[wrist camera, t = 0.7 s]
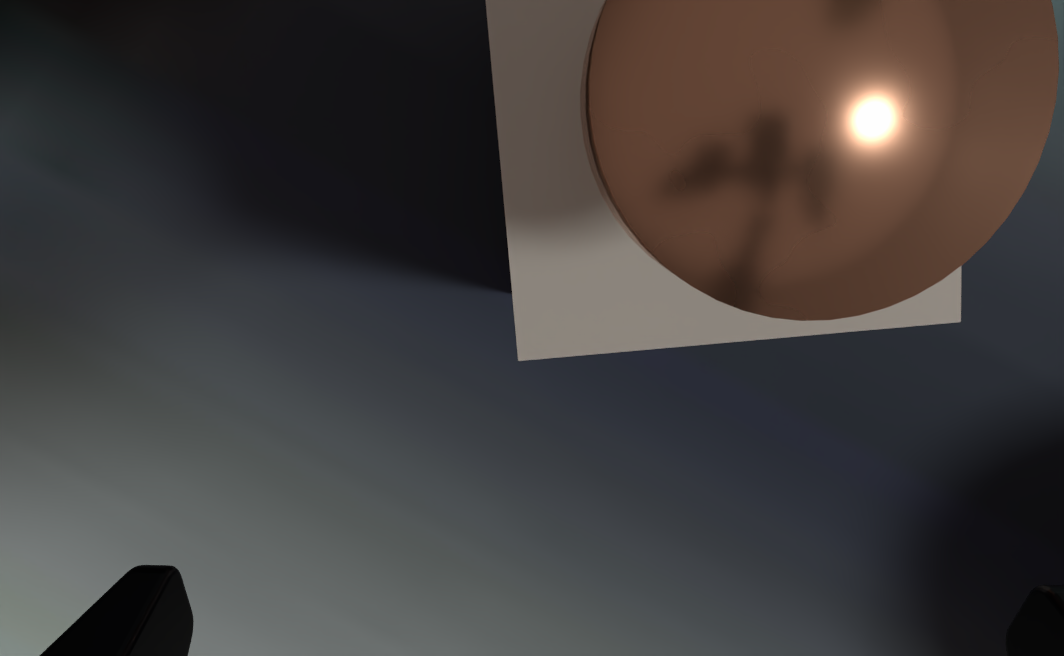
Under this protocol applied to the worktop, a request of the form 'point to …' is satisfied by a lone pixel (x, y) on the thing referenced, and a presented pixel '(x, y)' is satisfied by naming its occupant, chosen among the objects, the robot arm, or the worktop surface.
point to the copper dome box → (606, 218)
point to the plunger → (816, 140)
